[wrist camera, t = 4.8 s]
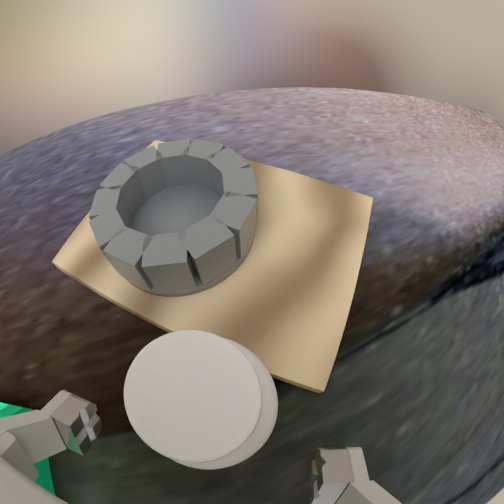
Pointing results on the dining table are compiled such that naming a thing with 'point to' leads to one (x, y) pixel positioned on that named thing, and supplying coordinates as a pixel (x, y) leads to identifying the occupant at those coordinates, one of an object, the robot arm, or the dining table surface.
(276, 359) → the board
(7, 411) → the camera mount
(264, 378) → the supplement bottle
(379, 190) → the dining table surface
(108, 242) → the fire pit
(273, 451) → the dining table surface
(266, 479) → the dining table surface
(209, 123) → the dining table surface
